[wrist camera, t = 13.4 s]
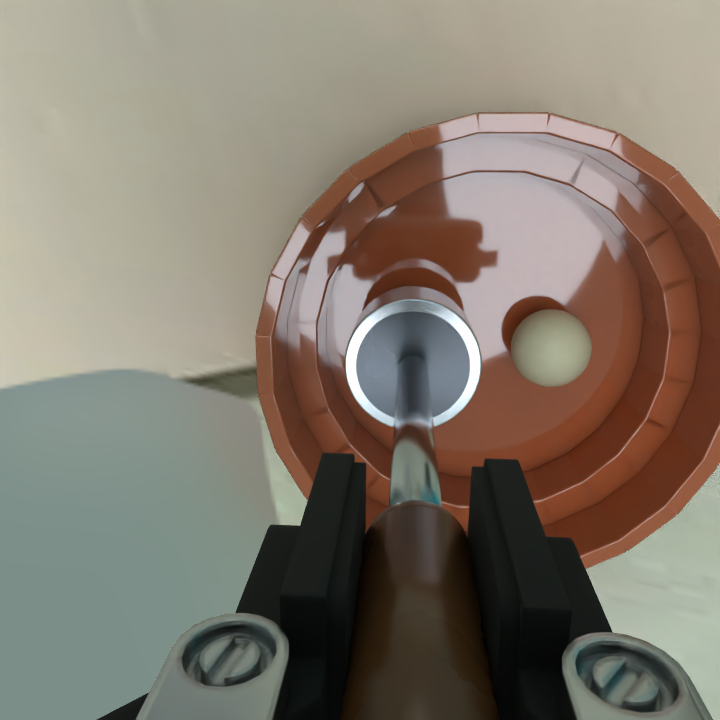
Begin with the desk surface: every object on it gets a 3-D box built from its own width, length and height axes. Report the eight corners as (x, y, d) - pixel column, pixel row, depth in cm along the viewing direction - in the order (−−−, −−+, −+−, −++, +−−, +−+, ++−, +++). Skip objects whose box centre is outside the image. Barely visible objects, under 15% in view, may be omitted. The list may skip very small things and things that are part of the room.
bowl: (283, 125, 26) (246, 111, 20) (708, 126, 25) (797, 112, 19) (292, 497, 31) (264, 573, 25) (654, 513, 29) (712, 596, 24)
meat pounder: (357, 279, 24) (140, 679, 5) (482, 293, 24) (802, 770, 5) (346, 397, 26) (134, 1108, 6) (464, 411, 25) (657, 1195, 6)
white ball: (567, 283, 26) (508, 307, 25) (621, 337, 24) (561, 366, 23) (541, 333, 28) (486, 357, 27) (589, 385, 27) (533, 413, 25)
